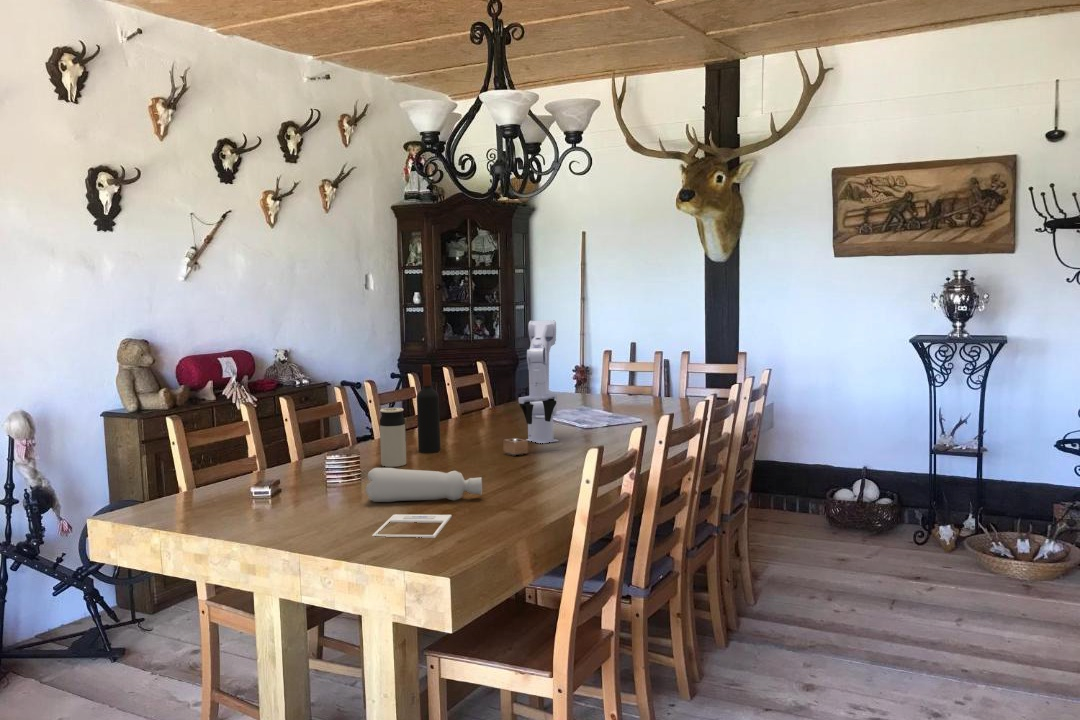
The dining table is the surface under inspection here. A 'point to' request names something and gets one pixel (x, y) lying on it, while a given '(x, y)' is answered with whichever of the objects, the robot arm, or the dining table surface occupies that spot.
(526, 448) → the copper rectangular sleeve
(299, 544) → the dining table surface
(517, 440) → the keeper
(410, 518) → the photo frame
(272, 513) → the dining table surface
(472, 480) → the bottle
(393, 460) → the travel mug
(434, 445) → the wine bottle
